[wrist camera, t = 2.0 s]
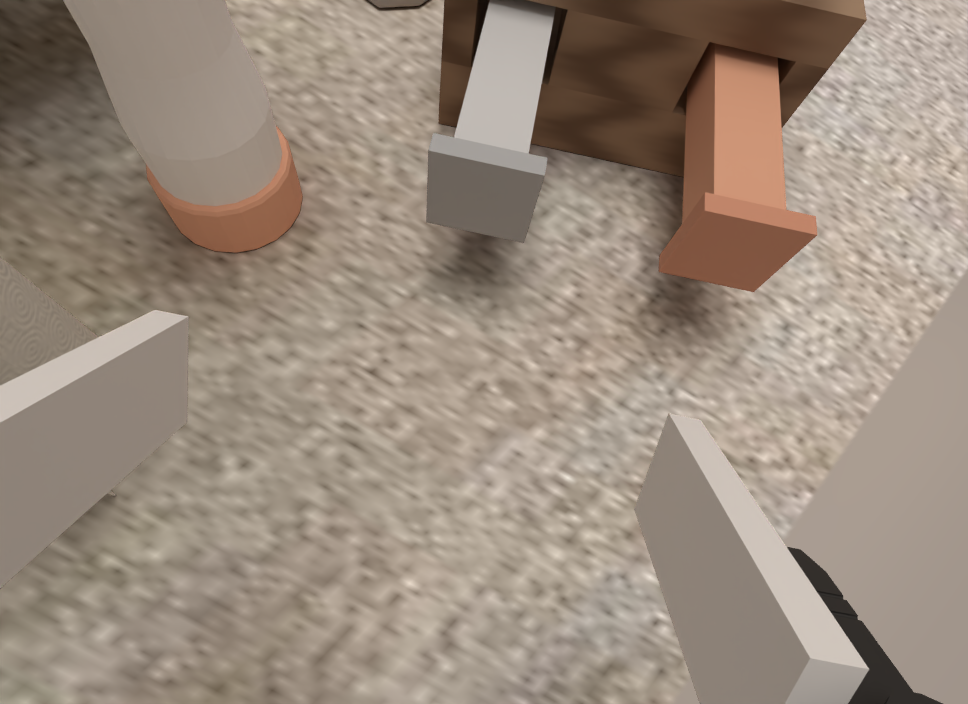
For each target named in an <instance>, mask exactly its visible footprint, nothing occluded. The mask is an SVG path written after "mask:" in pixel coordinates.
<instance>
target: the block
mask: <svg viewBox="0 0 968 704" xmlns="http://www.w3.org/2000/svg"><path fill="white" fill-rule="evenodd" d="M489 1H490V0H445V1H444V22H443V42H442V62H441V82H440V103H439V123H440V124H444V125H449V126H453V127H457V124H458V120H459V116H460V113H461V109H462V105H463V101H464V97H465V93H466V90H467V86H468V82H469V78H470V74H471V70H472V67H473V63H474V59H475V55H476V51H477V47H478V44H479V40H480V36H481V32H482V28H483V24H484V21H485V17H486V13H487V9H488V5H489ZM527 1H532V2H536V3H541V4H545V5H549V6H554V7H556V8H555V14H554V19H553V24H552V30H551V35H550V41H549V46H548V51H547V57H546V62H545V68H544V73H543V78H542V84H541V89H540V95H539V100H538V105H537V111H536V116H535V121H534V127H533V132H532V138H531V144H535V145H540V146H544V147H549V148H554V149H558V150H563V151H567V152H572V153H576V154H581V155H585V156H590V157H595V158H599V159H604V160H608V161H613V162H617V163H622V164H627V165H631V166H636V167H640V168H645V169H649V170H654V171H658V172H663V173H668V174H672V175H677V176H681V177H684V160H685V133H686V105H687V83H688V81H689V80H690V78H691V76H692V74H693V72H694V70H695V68H696V66H697V64H698V63H699V61H700V59H701V57H702V55H703V53H704V51H705V49H706V48H707V46H708V44H709V42H712V43H716V44H721V45H725V46H730V47H734V48H738V49H743V50H747V51H752V52H756V53H760V54H765V55H769V56H773V57H778V75H779V92H780V109H781V127H783V126H784V125H785V123H786V122H787V121H788V120H789V118H790V117H791V116H792V114H793V113H794V112H795V111H796V109H797V108H798V107H799V106H800V104H801V103H802V102H803V100H804V99H805V98H806V97H807V95H808V94H809V93H810V92H811V90H812V89H813V88H814V86H815V85H816V84H817V83H818V81H819V80H820V79H821V78H822V76H823V75H824V74H825V72H826V71H827V70H828V69H829V67H830V66H831V65H832V64H833V62H834V61H835V60H836V58H837V57H838V56H839V55H840V53H841V52H842V51H843V50H844V48H845V47H846V46H847V44H848V43H849V42H850V41H851V39H852V38H853V37H854V35H855V34H856V33H857V32H858V30H859V29H860V28H861V27H862V25H863V24H864V23H865V21H866V20H867V19H866V13H865V6H864V0H527Z"/></svg>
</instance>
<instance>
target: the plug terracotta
mask: <svg viewBox="0 0 968 704" xmlns="http://www.w3.org/2000/svg"><path fill="white" fill-rule="evenodd" d="M816 236H817V226H816V216H811V215H807V214H802V213H798V212H793V211H789V210H786V196H785V179H784V162H783V144H782V127H781V109H780V92H779V75H778V57H773V56H769V55H765V54H760V53H756V52H752V51H747V50H743V49H738V48H734V47H730V46H725V45H721V44H716V43H712V42H709V44H708V46H707V48H706V49H705V51H704V53H703V55H702V57H701V59H700V61H699V63H698V64H697V66H696V68H695V70H694V72H693V74H692V76H691V78H690V80H689V81H688V83H687V105H686V133H685V160H684V188H683V216H682V225H681V226H680V228H679V229H678V230H677V232H676V233H675V235H674V236H673V237H672V239H671V240H670V242H669V243H668V244H667V246H666V247H665V249H664V250H663V251H662V253H661V254H660V256H659V272H662V273H667V274H671V275H676V276H681V277H685V278H690V279H695V280H699V281H704V282H709V283H714V284H718V285H723V286H728V287H732V288H737V289H742V290H746V291H751V292H754V291H755V290H756V289H758V288H759V287H760V286H761V285H762V284H763V283H764V282H765V281H766V280H768V279H769V278H770V277H771V276H772V275H773V274H774V273H775V272H777V271H778V270H779V269H780V268H781V267H782V266H783V265H784V264H785V263H787V262H788V261H789V260H790V259H791V258H792V257H793V256H794V255H796V254H797V253H798V252H799V251H800V250H801V249H802V248H803V247H804V246H806V245H807V244H808V243H809V242H810V241H811V240H812V239H813V238H815V237H816Z"/></svg>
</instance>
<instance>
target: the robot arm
mask: <svg viewBox="0 0 968 704" xmlns="http://www.w3.org/2000/svg"><path fill="white" fill-rule="evenodd" d="M188 318H189V316H184V315H179V314H174V313H169V312H164V311H159V310H153V311H151V312H149V313H147V314H145V315H143V316H141V317H139V318H137V319H135V320H133V321H131V322H129V323H127V324H125V325H123V326H121V327H119V328H117V329H115V330H112V331H110V332H108V333H106V334H104V335H102V336H100V337H98V338H96V339H94V340H92V341H90V342H88V343H86V344H84V345H82V346H80V347H78V348H76V349H74V350H72V351H70V352H68V353H66V354H64V355H62V356H60V357H57V358H55V359H53V360H51V361H49V362H47V363H45V364H43V365H41V366H39V367H37V368H35V369H33V370H31V371H29V372H27V373H25V374H23V375H21V376H19V377H17V378H15V379H13V380H11V381H9V382H7V383H5V384H2V385H0V588H1V587H2V586H4V585H5V584H6V583H7V582H8V581H9V580H10V579H11V578H13V577H14V576H15V575H16V574H17V573H18V572H19V571H20V570H22V569H23V568H24V567H25V566H26V565H27V564H28V563H29V562H31V561H32V560H33V559H34V558H35V557H36V556H37V555H38V554H39V553H41V552H42V551H43V550H44V549H45V548H46V547H47V546H48V545H50V544H51V543H52V542H53V541H54V540H55V539H56V538H57V537H59V536H60V535H61V534H62V533H63V532H64V531H65V530H66V529H68V528H69V527H70V526H71V525H72V524H73V523H74V522H75V521H77V520H78V519H79V518H80V517H81V516H82V515H83V514H84V513H86V512H87V511H88V510H89V509H90V508H91V507H92V506H93V505H95V504H96V503H97V502H98V501H99V500H100V499H101V498H102V497H104V496H105V495H106V494H107V493H108V492H109V491H110V490H111V489H113V488H114V487H115V486H116V485H117V484H118V483H119V482H120V481H122V480H123V479H124V478H125V477H126V476H127V475H128V474H129V473H131V472H132V471H133V470H134V469H135V468H136V467H137V466H138V465H139V464H141V463H142V462H143V461H144V460H145V459H146V458H147V457H148V456H150V455H151V454H152V453H153V452H154V451H155V450H156V449H157V448H159V447H160V446H161V445H162V444H163V443H164V442H165V441H166V440H168V439H169V438H170V437H171V436H172V435H173V434H174V433H175V432H177V431H178V430H179V429H180V428H181V427H182V426H183V425H184V424H186V423H187V407H188ZM634 510H635V513H636V516H637V519H638V522H639V525H640V528H641V531H642V534H643V537H644V540H645V543H646V546H647V549H648V551H649V554H650V557H651V560H652V563H653V566H654V569H655V572H656V575H657V578H658V581H659V584H660V587H661V590H662V593H663V596H664V599H665V602H666V605H667V608H668V611H669V614H670V617H671V620H672V623H673V626H674V629H675V632H676V635H677V638H678V641H679V644H680V647H681V649H682V652H683V655H684V658H685V661H686V664H687V667H688V670H689V673H690V676H691V679H692V682H693V685H694V688H695V691H696V694H697V697H698V700H699V703H700V704H942V703H940V702H938V701H935V700H933V699H931V698H929V697H927V696H925V695H922V694H919V693H914V692H913V691H912V689H911V688H910V687H909V685H908V684H907V682H906V681H905V680H904V678H903V677H902V676H901V674H900V673H899V671H898V670H897V669H896V667H895V666H894V665H893V663H892V662H891V660H890V659H889V658H888V656H887V655H886V654H885V652H884V651H883V649H882V648H881V647H880V645H879V644H878V643H877V641H876V640H875V639H874V637H873V636H872V634H871V633H870V632H869V630H868V629H867V628H866V626H865V625H864V623H863V622H862V621H860V620H858V619H857V616H858V615H857V614H856V613H855V611H854V610H853V608H852V607H851V606H850V604H849V603H848V602H847V600H843V595H842V593H841V592H840V591H839V589H838V588H837V586H836V585H835V584H834V582H833V581H832V580H831V578H830V577H829V575H828V574H827V573H826V572H825V571H824V570H823V569H822V568H821V567H820V566H819V565H817V564H816V563H815V562H814V561H813V560H812V559H811V558H810V557H808V556H807V555H806V554H805V553H804V552H803V551H801V550H799V549H795V548H790V547H786V545H785V544H784V542H783V541H782V540H781V538H780V537H779V535H778V534H777V532H776V531H775V529H774V528H773V526H772V525H771V523H770V522H769V520H768V519H767V517H766V516H765V514H764V513H763V511H762V510H761V508H760V507H759V506H758V504H757V503H756V501H755V500H754V498H753V497H752V495H751V494H750V492H749V491H748V489H747V488H746V486H745V485H744V483H743V482H742V480H741V479H740V477H739V476H738V474H737V473H736V472H735V470H734V469H733V467H732V466H731V464H730V463H729V461H728V460H727V458H726V457H725V455H724V454H723V452H722V451H721V449H720V448H719V446H718V445H717V443H716V442H715V440H714V439H713V438H712V436H711V435H710V433H709V432H708V430H707V429H706V427H705V426H704V424H703V423H702V421H701V420H700V419H695V418H690V417H685V416H680V415H675V414H670V413H669V414H668V417H667V420H666V422H665V425H664V428H663V431H662V434H661V436H660V439H659V442H658V445H657V447H656V450H655V453H654V456H653V459H652V461H651V464H650V467H649V470H648V472H647V475H646V478H645V481H644V484H643V486H642V489H641V492H640V495H639V497H638V500H637V503H636V506H635V509H634Z"/></svg>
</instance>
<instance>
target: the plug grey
mask: <svg viewBox="0 0 968 704" xmlns="http://www.w3.org/2000/svg"><path fill="white" fill-rule="evenodd" d="M555 8H556V7H554V6H549V5H545V4H541V3H536V2H532V1H527V0H490V1H489V5H488V9H487V13H486V17H485V21H484V24H483V28H482V32H481V36H480V40H479V44H478V47H477V51H476V55H475V59H474V63H473V67H472V70H471V74H470V78H469V82H468V86H467V90H466V93H465V97H464V101H463V105H462V109H461V113H460V116H459V120H458V124H457V128H456V132H455V136H454V137H450V136H446V135H441V134H437V133H433V136H432V140H431V143H430V147H429V150H428V182H427V215H426V222H428V223H432V224H437V225H442V226H446V227H451V228H456V229H460V230H465V231H470V232H475V233H479V234H484V235H489V236H493V237H498V238H503V239H507V240H512V241H517V242H521V243H524V241H525V238H526V234H527V231H528V228H529V225H530V222H531V218H532V215H533V212H534V209H535V205H536V202H537V199H538V196H539V192H540V189H541V186H542V183H543V179H544V176H545V171H546V165H547V159H548V158H546V157H542V156H537V155H533V154H529V148H530V143H531V138H532V132H533V127H534V121H535V116H536V111H537V105H538V100H539V95H540V89H541V84H542V78H543V73H544V68H545V62H546V57H547V51H548V46H549V41H550V35H551V30H552V24H553V19H554V14H555Z"/></svg>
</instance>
